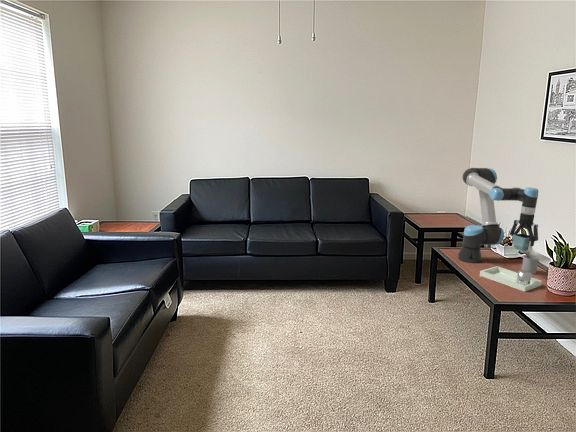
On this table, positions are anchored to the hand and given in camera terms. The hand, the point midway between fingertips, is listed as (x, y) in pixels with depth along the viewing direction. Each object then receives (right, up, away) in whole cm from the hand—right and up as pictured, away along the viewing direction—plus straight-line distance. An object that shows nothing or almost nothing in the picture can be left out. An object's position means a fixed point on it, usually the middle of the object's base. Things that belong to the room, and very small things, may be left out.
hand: (521, 248), depth 271 cm
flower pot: (0, -1, 0) cm, 1 cm away
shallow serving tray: (-11, -19, -8) cm, 24 cm away
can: (-7, -20, -15) cm, 26 cm away
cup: (+10, -16, +11) cm, 22 cm away
